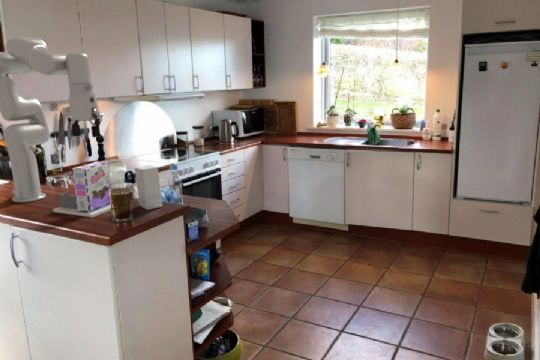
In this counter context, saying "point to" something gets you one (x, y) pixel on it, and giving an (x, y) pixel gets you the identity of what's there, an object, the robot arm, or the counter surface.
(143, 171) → the skincare box
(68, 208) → the grey block on board
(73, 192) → the die plunger
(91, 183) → the candy box
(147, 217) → the counter surface
